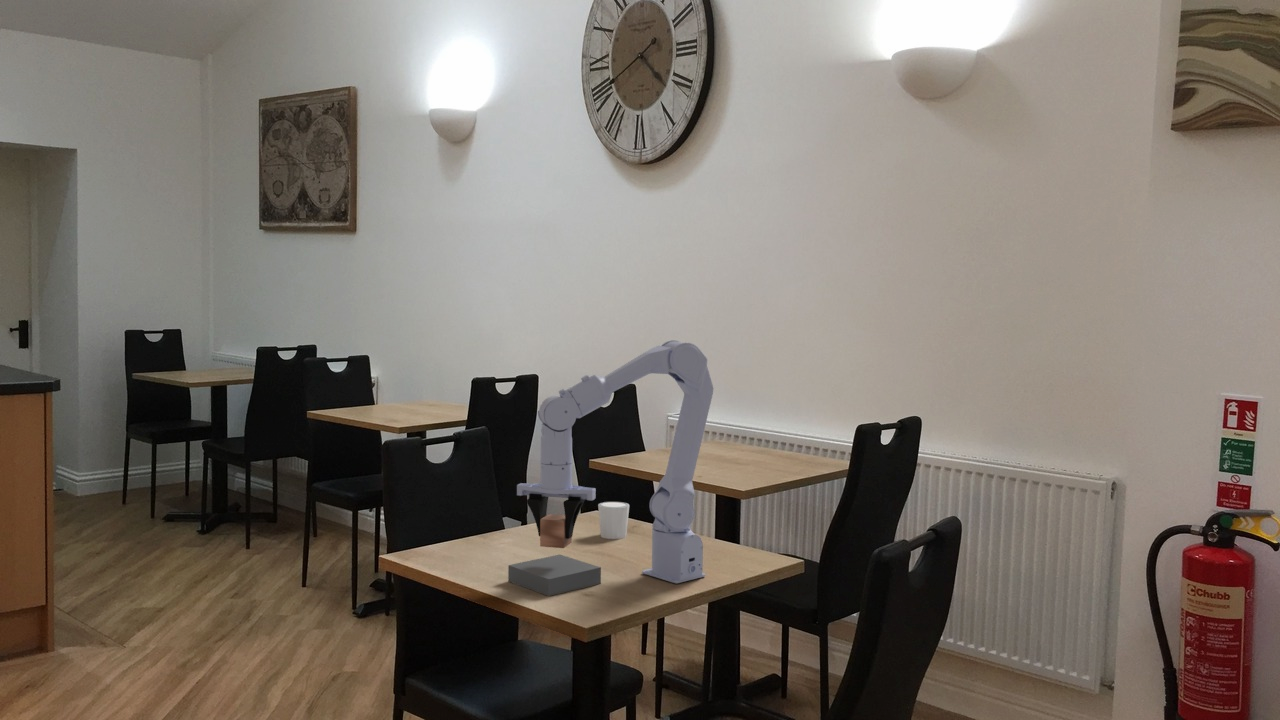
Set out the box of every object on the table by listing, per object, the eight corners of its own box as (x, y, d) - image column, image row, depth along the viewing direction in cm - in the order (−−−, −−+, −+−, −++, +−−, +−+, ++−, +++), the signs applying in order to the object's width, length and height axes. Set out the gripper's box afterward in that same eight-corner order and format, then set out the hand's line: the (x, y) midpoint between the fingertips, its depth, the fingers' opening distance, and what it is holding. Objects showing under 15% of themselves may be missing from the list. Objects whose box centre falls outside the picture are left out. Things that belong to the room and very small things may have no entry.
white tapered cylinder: (630, 532, 228) (631, 501, 228) (627, 540, 221) (627, 508, 221) (599, 531, 229) (600, 500, 228) (595, 539, 222) (595, 507, 222)
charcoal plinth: (600, 583, 189) (600, 567, 188) (548, 596, 180) (548, 579, 180) (559, 569, 197) (559, 554, 197) (508, 581, 189) (508, 565, 189)
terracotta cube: (571, 542, 191) (571, 515, 190) (563, 548, 186) (563, 520, 186) (548, 540, 192) (548, 514, 192) (540, 546, 188) (540, 519, 187)
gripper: (600, 461, 190) (599, 534, 191) (526, 457, 193) (526, 528, 194) (589, 467, 183) (588, 543, 184) (512, 463, 187) (512, 537, 188)
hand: (555, 536), depth 189 cm, fingers closed on terracotta cube, 4 cm apart
